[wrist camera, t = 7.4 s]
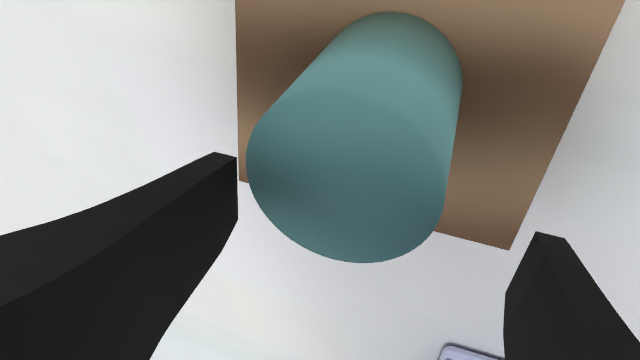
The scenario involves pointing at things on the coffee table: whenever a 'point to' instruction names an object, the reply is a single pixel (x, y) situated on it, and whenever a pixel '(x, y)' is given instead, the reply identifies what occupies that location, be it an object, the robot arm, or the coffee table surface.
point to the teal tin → (362, 141)
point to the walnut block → (477, 92)
